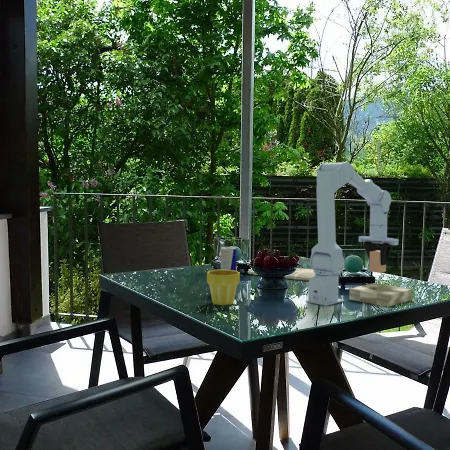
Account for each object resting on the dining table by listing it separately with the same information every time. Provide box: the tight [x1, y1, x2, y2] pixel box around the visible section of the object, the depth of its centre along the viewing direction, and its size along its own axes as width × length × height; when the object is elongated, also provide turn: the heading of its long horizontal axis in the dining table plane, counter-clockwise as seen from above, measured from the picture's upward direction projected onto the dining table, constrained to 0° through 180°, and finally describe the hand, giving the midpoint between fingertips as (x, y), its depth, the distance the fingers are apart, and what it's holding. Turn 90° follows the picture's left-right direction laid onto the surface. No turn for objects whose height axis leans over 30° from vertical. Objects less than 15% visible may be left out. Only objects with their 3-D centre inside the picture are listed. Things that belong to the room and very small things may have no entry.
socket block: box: [348, 283, 413, 308], centre depth 179 cm, size 14×14×4 cm
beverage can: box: [220, 246, 238, 271], centre depth 196 cm, size 6×6×15 cm
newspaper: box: [248, 267, 316, 282], centre depth 229 cm, size 37×19×3 cm, turn 56°
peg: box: [368, 249, 387, 274], centre depth 193 cm, size 4×4×7 cm
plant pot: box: [206, 269, 241, 306], centre depth 175 cm, size 10×10×10 cm
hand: (377, 264), depth 193 cm, fingers closed on peg, 4 cm apart
